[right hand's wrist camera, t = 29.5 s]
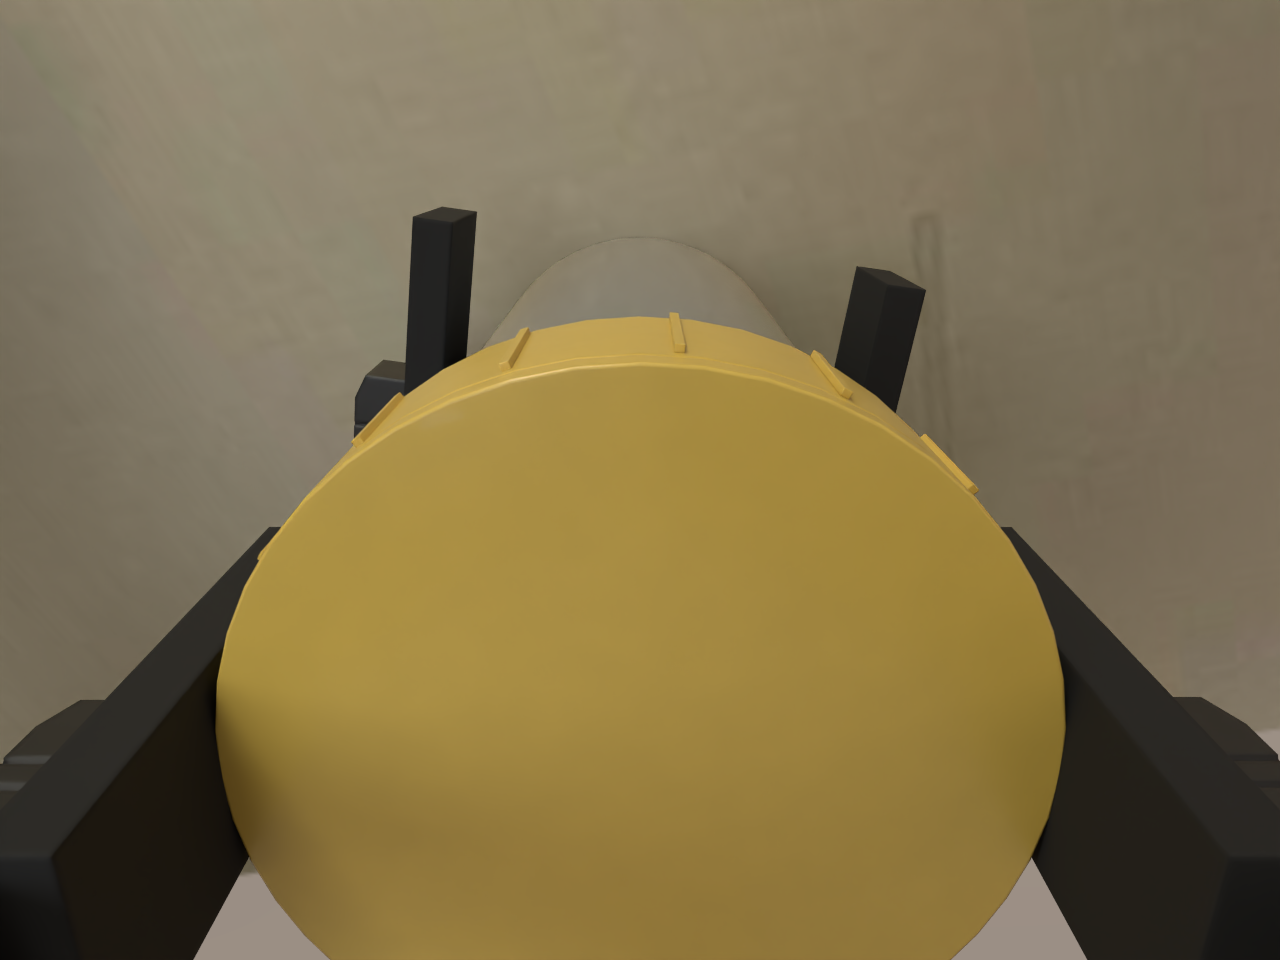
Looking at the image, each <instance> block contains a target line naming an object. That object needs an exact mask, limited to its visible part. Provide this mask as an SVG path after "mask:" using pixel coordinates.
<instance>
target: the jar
mask: <svg viewBox="0 0 1280 960" xmlns="http://www.w3.org/2000/svg"><path fill="white" fill-rule="evenodd" d="M670 312H673V313H679V317H680V319H688V320H696V321H701V322H706V323H711V324H716V325H721V326H726V327H731V328H736V329H742V330H745V331H748V332H751V333H754V334H757V335H760V336H763V337H766V338H769V339H771V340H774V341H777V342H780V343H783V344H786V345H789V346H792V347H794V348H795V346H794V345H793V344H792V342H791V341H790V340H789V338H788V337H787V336H786V334H785V333H784V332H783V330H782V329H781V328H780V326H779V325H778V324H777V322H776V321H775V320H774V318H773V317H772V316H771V314H770V313H769V312H768V310H767V309H766V308H765V306H764V305H763V304H762V302H761V301H760V300H759V298H758V297H757V296H756V294H755V293H754V292H753V291H752V290H751V288H750V287H749V286H748V285H747V284H746V283H745V281H744V280H742V279H741V278H740V277H739V276H738V275H737V274H736V273H735V272H733V271H732V270H731V269H730V268H729V267H727V266H726V265H724V264H723V263H721V262H720V261H718V260H717V259H715V258H714V257H712V256H710V255H708V254H706V253H704V252H702V251H700V250H698V249H696V248H693V247H690V246H687V245H684V244H681V243H678V242H674V241H669V240H664V239H658V238H643V237H633V238H621V239H614V240H609V241H605V242H600V243H596V244H594V245H591V246H588V247H585V248H583V249H580V250H578V251H576V252H574V253H572V254H570V255H568V256H566V257H564V258H563V259H561V260H559V261H558V262H557V263H555V264H554V265H552V266H551V267H550V268H548V269H547V270H546V271H544V272H543V273H542V274H541V275H540V276H539V277H538V278H537V279H536V280H535V281H534V282H533V283H532V284H531V285H530V286H529V287H528V289H527V290H526V291H525V292H524V294H523V295H522V296H521V297H520V299H519V300H518V301H517V302H516V304H515V305H514V306H513V308H512V309H511V310H510V312H509V313H508V314H507V316H506V317H505V318H504V320H503V321H502V322H501V324H500V325H499V326H498V328H497V329H496V330H495V332H494V333H493V334H492V336H491V337H490V338H489V340H488V341H487V342H486V344H485V345H484V346H483V348H482V349H481V350H483V349H485V348H487V347H489V346H492V345H495V344H498V343H501V342H504V341H507V340H510V339H512V338H515V337H516V335H517V334H518V332H519V331H520V329H523V328H526V327H529V330H530V332H533V331H536V330H540V329H545V328H550V327H555V326H560V325H565V324H570V323H575V322H580V321H585V320H595V319H609V318H624V317H638V316H640V317H656V318H669V313H670ZM481 350H480V351H481Z"/></svg>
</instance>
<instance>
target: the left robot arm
mask: <svg viewBox="0 0 1280 960" xmlns="http://www.w3.org/2000/svg"><path fill="white" fill-rule="evenodd" d="M476 217H477V212H475V211H468V210H461V209H454V208H447V207H440V208H437V209H434V210H431V211H428V212H425V213H422V214H420V215H417V216H414V217H413V225H412V245H411V265H410V285H409V305H408V325H407V346H406V363H403V362H396V361H388V360H383V361H382V362H380V363H379V364H378V365H377V366H376V367H375V368H374V369H372V370H371V371H370V372H369V373H368V374H367V375H366V376H365V378H364V380H363V382H362V384H361V386H360V388H359V390H358V392H357V395H356V397H355V426H354V438H355V437H356V436H357V435H358V434H359V433H360V432H361V431H362V430H363V429H364V427H365V426H366V425H367V424H368V423H369V422H370V421H371V420H372V419H373V418H374V417H375V416H376V415H377V414H378V413H379V412H380V411H381V410H382V409H383V407H384V406H385V405H386V404H387V403H388V402H389V401H390V400H391V399H392V398H393V397H394V396H395V395H396V394H398V393H399V392H400V393H401V394H402V395H403V396H406V395H407V394H409V393H410V392H412V391H413V390H414V389H416V388H417V387H419V386H420V385H422V384H423V383H424V382H426V381H427V380H429V379H430V378H432V377H433V376H435V375H436V374H437V373H439V372H440V371H442V370H443V369H445V368H447V367H449V366H451V365H453V364H455V363H457V362H459V361H461V360H463V359H465V358H466V354H467V340H468V326H469V313H470V299H471V285H472V272H473V258H474V245H475V231H476ZM925 292H926V290H925V289H923V288H921V287H919V286H917V285H915V284H913V283H912V282H910V281H908V280H906V279H904V278H902V277H900V276H898V275H896V274H895V273H893V272H891V271H886V270H879V269H872V268H865V267H858V266H857V267H856V272H855V276H854V281H853V285H852V290H851V294H850V299H849V304H848V308H847V313H846V317H845V322H844V326H843V331H842V335H841V340H840V345H839V349H838V354H837V358H836V363H835V367H834V368H836V369H837V370H839V371H840V372H842V373H843V374H845V375H846V376H848V377H849V378H851V379H852V380H854V381H855V382H856V383H858V384H859V385H861V386H862V387H864V388H865V389H867V390H868V391H870V392H871V393H873V394H874V395H875V396H877V397H878V398H879V399H880V400H881V401H882V402H883V403H884V404H885V405H887V406H888V407H889V408H890V409H891V410H892V411H893V412H894V413H896V409H897V405H898V401H899V397H900V393H901V389H902V385H903V381H904V377H905V373H906V369H907V365H908V361H909V357H910V353H911V349H912V345H913V341H914V336H915V332H916V328H917V324H918V320H919V316H920V312H921V308H922V304H923V300H924V296H925Z"/></svg>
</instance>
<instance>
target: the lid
mask: <svg viewBox="0 0 1280 960" xmlns="http://www.w3.org/2000/svg"><path fill="white" fill-rule="evenodd" d="M351 443H352V444H353V445H354V446H353V447H352V448H351V449H350V450H349V451H348V452H347V453H346V454H345V455H344V456H343V457H342V459H341V460H340V461H339V462H338V463H337V464H336V465H335V466H334V467H333V468H332V469H331V470H330V471H329V473H328V474H327V475H326V476H325V477H324V478H323V479H322V480H321V481H320V482H319V483H318V484H317V485H316V487H315V488H314V489H313V490H312V491H311V492H310V493H309V494H308V495H307V496H306V497H305V498H304V500H303V501H302V502H301V503H300V505H299V506H298V507H297V508H296V510H295V511H294V512H293V513H292V515H291V516H290V517H289V518H288V520H287V521H286V522H285V523H284V525H283V526H282V527H281V528H280V530H279V531H278V532H277V533H276V535H275V536H274V537H273V538H272V540H271V541H270V542H269V543H268V544H267V546H266V547H265V548H264V549H263V550H262V551H261V552H260V554H259V556H258V558H257V559H258V560H259V562H258V563H257V565H256V567H255V569H254V570H253V572H252V574H251V576H250V577H249V579H248V581H247V583H246V585H245V586H244V589H243V591H242V594H241V597H240V599H239V602H238V605H237V607H236V610H235V613H234V615H233V618H232V621H231V623H230V626H229V629H228V631H227V634H226V639H225V644H224V649H223V654H222V659H221V664H220V669H219V674H218V679H217V696H216V722H215V733H216V741H217V749H218V755H219V760H220V766H221V772H222V777H223V782H224V786H225V791H226V796H227V800H228V804H229V807H230V811H231V815H232V818H233V821H234V823H235V826H236V828H237V830H238V832H239V835H240V837H241V839H242V841H243V844H244V846H245V848H246V850H247V853H248V855H249V857H250V859H251V861H252V863H253V865H254V866H255V868H256V870H257V871H258V873H259V874H260V876H261V878H262V879H263V881H264V882H265V884H266V886H267V887H268V889H269V890H270V892H271V894H272V895H273V897H274V898H275V900H276V901H277V903H278V904H279V905H280V906H281V907H282V909H283V910H284V911H285V912H286V913H287V915H288V916H289V917H290V918H291V920H292V921H293V922H294V923H295V924H296V926H297V927H298V928H299V929H300V930H301V932H302V933H303V934H304V935H305V936H306V937H307V938H308V939H309V940H310V941H311V942H312V943H313V944H314V945H315V946H316V947H317V948H318V949H319V950H320V951H322V952H323V953H324V954H325V955H326V956H327V957H328V958H329V959H330V960H951V959H952V958H953V957H954V956H955V955H956V954H957V953H958V952H959V951H960V950H962V949H963V948H964V947H965V946H966V945H967V944H968V943H969V942H970V941H971V940H972V939H973V938H974V937H975V936H976V935H977V934H978V933H979V932H980V930H981V929H982V928H983V927H984V926H985V924H986V923H987V922H988V921H989V919H990V918H991V917H992V916H993V914H994V913H995V912H996V911H997V910H998V908H999V907H1000V906H1001V905H1002V903H1003V902H1004V901H1005V900H1006V899H1007V897H1008V895H1009V894H1010V892H1011V890H1012V889H1013V887H1014V886H1015V884H1016V882H1017V881H1018V879H1019V877H1020V876H1021V874H1022V873H1023V871H1024V869H1025V868H1026V866H1027V865H1028V863H1029V861H1030V860H1031V857H1032V855H1033V853H1034V850H1035V848H1036V846H1037V844H1038V841H1039V839H1040V837H1041V834H1042V832H1043V830H1044V828H1045V825H1046V823H1047V821H1048V819H1049V815H1050V811H1051V808H1052V803H1053V799H1054V794H1055V789H1056V785H1057V780H1058V775H1059V770H1060V764H1061V759H1062V753H1063V747H1064V741H1065V732H1066V718H1065V695H1064V678H1063V673H1062V668H1061V663H1060V659H1059V654H1058V649H1057V644H1056V639H1055V635H1054V631H1053V628H1052V625H1051V623H1050V620H1049V618H1048V615H1047V612H1046V610H1045V607H1044V604H1043V602H1042V599H1041V597H1040V594H1039V591H1038V589H1037V586H1036V584H1035V582H1034V580H1033V579H1032V577H1031V575H1030V574H1029V572H1028V570H1027V568H1026V567H1025V565H1024V563H1023V562H1022V560H1021V558H1020V556H1019V555H1018V553H1017V551H1016V549H1015V548H1014V546H1013V544H1012V543H1011V541H1010V539H1009V538H1008V537H1007V535H1006V534H1005V533H1004V532H1003V530H1002V529H1001V528H1000V527H999V526H998V524H997V523H996V522H995V521H994V519H993V518H992V517H991V516H990V514H989V513H988V512H987V511H986V509H985V508H984V507H983V506H982V505H981V503H980V502H979V501H978V500H977V498H976V497H975V496H974V494H975V493H977V492H978V491H979V489H978V488H977V487H976V486H975V485H974V483H973V482H972V481H971V480H970V479H969V478H968V477H967V476H966V475H965V474H964V473H963V472H962V471H961V470H960V469H959V468H958V467H957V466H956V465H955V464H954V463H953V462H952V461H951V460H950V459H949V458H948V456H947V455H946V454H945V453H944V452H943V451H942V450H941V449H940V448H939V447H938V446H937V445H936V444H935V443H934V442H933V441H932V440H931V439H930V438H929V437H928V436H927V435H926V434H924V435H923V436H921V437H919V436H918V435H917V434H916V433H915V432H914V431H913V430H912V428H911V427H909V426H908V425H907V424H906V423H905V422H904V421H903V420H902V419H901V418H900V417H899V416H897V415H896V414H895V413H894V412H893V411H892V410H891V409H890V408H889V407H888V406H887V405H885V404H884V403H883V402H882V401H881V400H880V399H879V398H878V397H877V396H875V395H874V394H873V393H871V392H870V391H868V390H867V389H865V388H864V387H862V386H861V385H859V384H858V383H856V382H855V381H854V380H852V379H851V378H849V377H848V376H846V375H845V374H843V373H842V372H840V371H839V370H837V369H836V368H834V367H832V366H831V365H830V364H829V363H828V361H827V360H826V359H825V358H824V357H823V355H822V354H821V353H819V352H817V351H815V350H814V351H813V352H812V354H811V356H810V355H808V354H806V353H804V352H802V351H800V350H798V349H796V348H794V347H792V346H789V345H786V344H783V343H780V342H777V341H774V340H771V339H769V338H766V337H763V336H760V335H757V334H754V333H751V332H748V331H745V330H742V329H736V328H731V327H726V326H721V325H716V324H711V323H706V322H701V321H696V320H688V319H680V317H679V313H673V312H670V313H669V318H656V317H640V316H638V317H624V318H609V319H595V320H585V321H580V322H575V323H570V324H565V325H560V326H555V327H550V328H545V329H540V330H536V331H533V332H530V330H529V327H526V328H523V329H520V331H519V332H518V334H517V335H516V337H515V338H512V339H510V340H507V341H504V342H501V343H498V344H495V345H492V346H489V347H487V348H485V349H483V350H481V351H479V352H477V353H475V354H473V355H471V356H469V357H467V358H465V359H463V360H461V361H459V362H457V363H455V364H453V365H451V366H449V367H447V368H445V369H443V370H442V371H440V372H439V373H437V374H436V375H435V376H433V377H432V378H430V379H429V380H427V381H426V382H424V383H423V384H422V385H420V386H419V387H417V388H416V389H414V390H413V391H412V392H410V393H409V394H407V395H406V396H403V395H402V394H401V393H400V392H399V393H398V394H396V395H395V396H394V397H393V398H392V399H391V400H390V401H389V402H388V403H387V404H386V405H385V406H384V407H383V409H382V410H381V411H380V412H379V413H378V414H377V415H376V416H375V417H374V418H373V419H372V420H371V421H370V422H369V423H368V424H367V425H366V426H365V427H364V429H363V430H362V431H361V432H360V433H359V434H358V435H357V436H356V437H355V438H354V439H353V440H352V441H351Z"/></svg>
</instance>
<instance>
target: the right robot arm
mask: <svg viewBox="0 0 1280 960" xmlns="http://www.w3.org/2000/svg"><path fill="white" fill-rule="evenodd" d="M280 528H281V527H269V528H268V529H267V530H266V531H265V532H264V533H263V534H262V535H261V536H260V537H259V538H258V540H257V541H256V542H255V543H254V544H253V545H252V546H251V547H250V548H249V549H248V550H247V551H246V552H245V553H244V554H243V555H242V556H241V557H240V558H239V559H238V561H237V562H236V563H235V564H234V565H233V566H232V567H231V568H230V569H229V570H228V571H227V572H226V573H225V574H224V575H223V576H222V577H221V578H220V579H219V581H218V582H217V583H216V584H215V585H214V586H213V587H212V588H211V589H210V590H209V591H208V592H207V593H206V594H205V595H204V596H203V597H202V598H201V599H200V601H199V602H198V603H197V604H196V605H195V606H194V607H193V608H192V609H191V610H190V611H189V612H188V613H187V614H186V615H185V616H184V617H183V618H182V619H181V621H180V622H179V623H178V624H177V625H176V626H175V627H174V628H173V629H172V630H171V631H170V632H169V633H168V634H167V635H166V636H165V637H164V638H163V639H162V641H161V642H160V643H159V644H158V645H157V646H156V647H155V648H154V649H153V650H152V651H151V652H150V653H149V654H148V655H147V656H146V657H145V658H144V659H143V660H142V662H141V663H140V664H139V665H138V666H137V667H136V668H135V669H134V670H133V671H132V672H131V673H130V674H129V675H128V676H127V677H126V678H125V679H124V680H123V682H122V683H121V684H120V685H119V686H118V687H117V688H116V689H115V690H114V691H113V692H112V693H111V694H110V695H109V696H108V697H107V698H106V699H105V700H80V701H78V702H76V703H75V704H73V705H71V706H70V707H68V708H66V709H65V710H63V711H61V712H60V713H58V714H56V715H55V716H53V717H51V718H50V719H48V720H46V721H44V722H43V723H41V724H39V725H38V726H36V727H35V728H34V729H33V730H32V731H31V732H30V733H29V734H28V735H27V736H26V737H25V738H24V739H23V740H22V741H21V742H19V743H18V744H17V745H16V746H15V747H14V748H13V749H12V750H11V751H10V752H9V753H8V754H7V755H6V756H5V757H4V761H3V764H0V960H193V959H194V957H195V955H196V954H197V952H198V950H199V948H200V946H201V944H202V943H203V941H204V939H205V937H206V935H207V933H208V932H209V930H210V928H211V926H212V924H213V922H214V921H215V919H216V917H217V915H218V913H219V911H220V909H221V908H222V906H223V904H224V902H225V900H226V898H227V897H228V895H229V893H230V891H231V889H232V887H233V886H234V884H235V882H236V880H237V878H238V876H239V875H240V873H241V871H242V869H243V867H244V865H245V863H246V862H247V860H248V858H249V855H248V853H247V850H246V848H245V846H244V844H243V841H242V839H241V837H240V835H239V832H238V830H237V828H236V826H235V823H234V821H233V818H232V815H231V811H230V807H229V804H228V800H227V796H226V791H225V786H224V782H223V777H222V772H221V766H220V760H219V755H218V749H217V741H216V733H215V722H216V696H217V679H218V674H219V669H220V664H221V659H222V654H223V649H224V644H225V639H226V634H227V631H228V629H229V626H230V623H231V621H232V618H233V615H234V613H235V610H236V607H237V605H238V602H239V599H240V597H241V594H242V591H243V589H244V586H245V585H246V583H247V581H248V579H249V577H250V576H251V574H252V572H253V570H254V569H255V567H256V565H257V563H258V562H259V560H258V559H257V558H258V556H259V554H260V552H261V551H262V550H263V549H264V548H265V547H266V546H267V544H268V543H269V542H270V541H271V540H272V538H273V537H274V536H275V535H276V533H277V532H278V531H279V530H280ZM1000 528H1001V529H1002V530H1003V532H1004V533H1005V534H1006V535H1007V537H1008V538H1009V539H1010V541H1011V543H1012V544H1013V546H1014V548H1015V549H1016V551H1017V553H1018V555H1019V556H1020V558H1021V560H1022V562H1023V563H1024V565H1025V567H1026V568H1027V570H1028V572H1029V574H1030V575H1031V577H1032V579H1033V580H1034V582H1035V584H1036V586H1037V589H1038V591H1039V594H1040V597H1041V599H1042V602H1043V604H1044V607H1045V610H1046V612H1047V615H1048V618H1049V620H1050V623H1051V625H1052V628H1053V631H1054V635H1055V639H1056V644H1057V649H1058V654H1059V659H1060V663H1061V668H1062V673H1063V678H1064V695H1065V718H1066V732H1065V741H1064V747H1063V753H1062V759H1061V764H1060V770H1059V775H1058V780H1057V785H1056V789H1055V794H1054V799H1053V803H1052V808H1051V811H1050V815H1049V819H1048V821H1047V823H1046V825H1045V828H1044V830H1043V832H1042V834H1041V837H1040V839H1039V841H1038V844H1037V846H1036V848H1035V850H1034V853H1033V855H1032V859H1033V861H1034V862H1035V864H1036V866H1037V868H1038V870H1039V872H1040V873H1041V875H1042V877H1043V879H1044V881H1045V883H1046V885H1047V886H1048V888H1049V890H1050V892H1051V894H1052V896H1053V897H1054V899H1055V901H1056V903H1057V905H1058V906H1059V908H1060V910H1061V912H1062V914H1063V916H1064V917H1065V919H1066V921H1067V923H1068V925H1069V927H1070V929H1071V931H1072V932H1073V934H1074V936H1075V938H1076V940H1077V942H1078V943H1079V945H1080V947H1081V949H1082V951H1083V953H1084V954H1085V956H1086V958H1087V960H1280V761H1279V760H1278V754H1277V753H1276V752H1275V751H1273V749H1271V748H1270V747H1269V746H1268V745H1267V744H1266V743H1265V742H1264V741H1263V740H1262V739H1261V738H1260V737H1259V736H1258V735H1257V734H1256V733H1255V732H1254V731H1253V730H1252V729H1251V728H1250V727H1249V726H1248V725H1247V724H1246V723H1244V722H1242V721H1240V720H1239V719H1237V718H1235V717H1234V716H1232V715H1230V714H1229V713H1227V712H1225V711H1223V710H1222V709H1220V708H1218V707H1217V706H1215V705H1213V704H1212V703H1210V702H1208V701H1207V700H1205V699H1203V698H1201V697H1172V696H1171V695H1170V693H1169V692H1168V691H1167V690H1166V689H1165V688H1164V687H1163V686H1162V685H1161V684H1160V683H1159V682H1158V681H1157V680H1156V679H1155V678H1154V677H1153V676H1152V675H1151V674H1150V672H1149V671H1148V670H1147V669H1146V668H1145V667H1144V666H1143V665H1142V664H1141V663H1140V662H1139V661H1138V660H1137V659H1136V658H1135V657H1134V656H1133V655H1132V654H1131V652H1130V651H1129V650H1128V649H1127V648H1126V647H1125V646H1124V645H1123V644H1122V643H1121V642H1120V641H1119V640H1118V639H1117V638H1116V637H1115V636H1114V635H1113V634H1112V632H1111V631H1110V630H1109V629H1108V628H1107V627H1106V626H1105V625H1104V624H1103V623H1102V622H1101V621H1100V620H1099V619H1098V618H1097V617H1096V616H1095V615H1094V614H1093V613H1092V611H1091V610H1090V609H1089V608H1088V607H1087V606H1086V605H1085V604H1084V603H1083V602H1082V601H1081V600H1080V599H1079V598H1078V597H1077V596H1076V595H1075V594H1074V593H1073V591H1072V590H1071V589H1070V588H1069V587H1068V586H1067V585H1066V584H1065V583H1064V582H1063V581H1062V580H1061V579H1060V578H1059V577H1058V576H1057V575H1056V574H1055V573H1054V571H1053V570H1052V569H1051V568H1050V567H1049V566H1048V565H1047V564H1046V563H1045V562H1044V561H1043V560H1042V559H1041V558H1040V557H1039V556H1038V555H1037V554H1036V553H1035V552H1034V550H1033V549H1032V548H1031V547H1030V546H1029V545H1028V544H1027V543H1026V542H1025V541H1024V540H1023V539H1022V538H1021V537H1020V536H1019V535H1018V534H1017V533H1016V532H1015V530H1014V529H1013V528H1012V527H1000Z"/></svg>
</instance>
